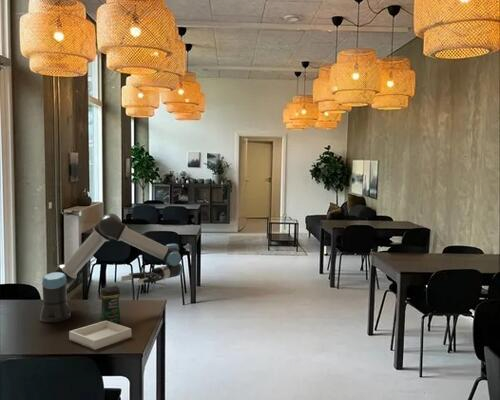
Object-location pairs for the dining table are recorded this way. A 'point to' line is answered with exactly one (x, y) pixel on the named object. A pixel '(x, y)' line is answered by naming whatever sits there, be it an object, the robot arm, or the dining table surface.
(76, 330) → the tray
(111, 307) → the coffee jar
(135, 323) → the dining table surface
